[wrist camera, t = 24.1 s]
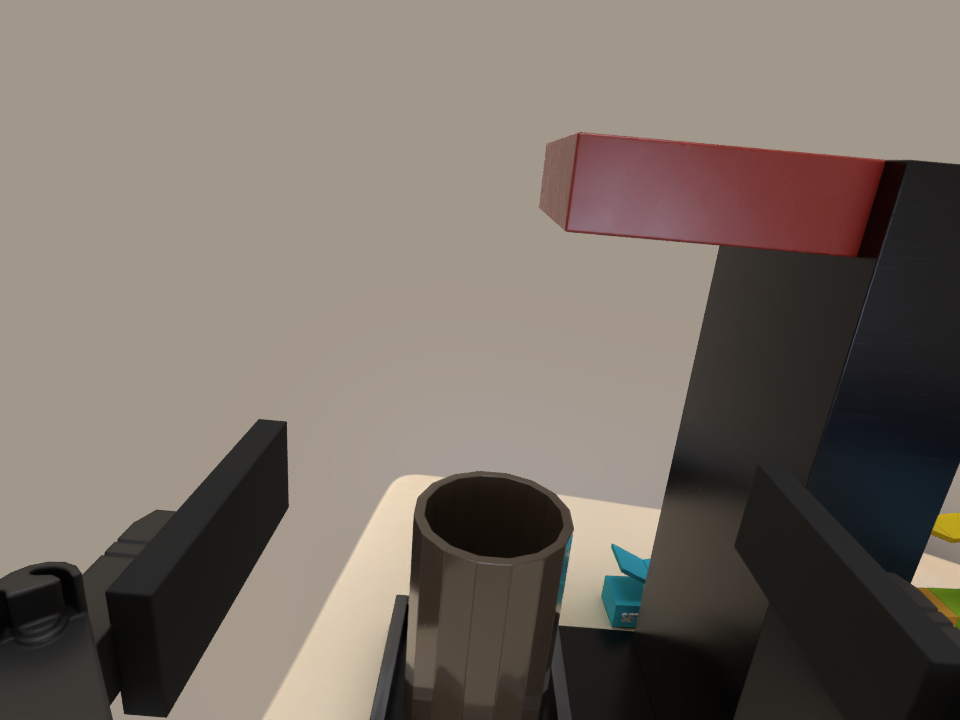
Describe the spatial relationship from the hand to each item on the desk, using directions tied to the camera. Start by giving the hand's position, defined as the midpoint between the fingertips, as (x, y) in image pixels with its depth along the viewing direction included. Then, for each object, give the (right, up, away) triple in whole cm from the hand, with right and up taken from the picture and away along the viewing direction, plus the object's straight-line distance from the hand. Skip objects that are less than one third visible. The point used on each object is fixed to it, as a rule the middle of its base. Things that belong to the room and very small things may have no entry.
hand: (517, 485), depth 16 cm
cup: (-1, -16, +16) cm, 23 cm away
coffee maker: (+3, -17, +16) cm, 24 cm away
